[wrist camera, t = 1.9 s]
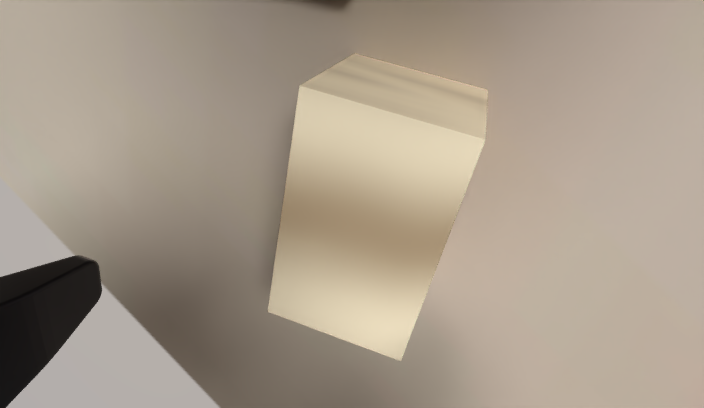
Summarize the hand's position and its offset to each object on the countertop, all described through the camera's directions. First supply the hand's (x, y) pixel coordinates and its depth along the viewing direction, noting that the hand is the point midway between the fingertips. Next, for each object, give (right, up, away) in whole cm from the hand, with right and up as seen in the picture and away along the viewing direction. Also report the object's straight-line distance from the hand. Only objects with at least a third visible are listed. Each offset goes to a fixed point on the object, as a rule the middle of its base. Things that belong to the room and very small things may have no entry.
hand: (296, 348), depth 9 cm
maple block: (+3, +4, +8) cm, 9 cm away
